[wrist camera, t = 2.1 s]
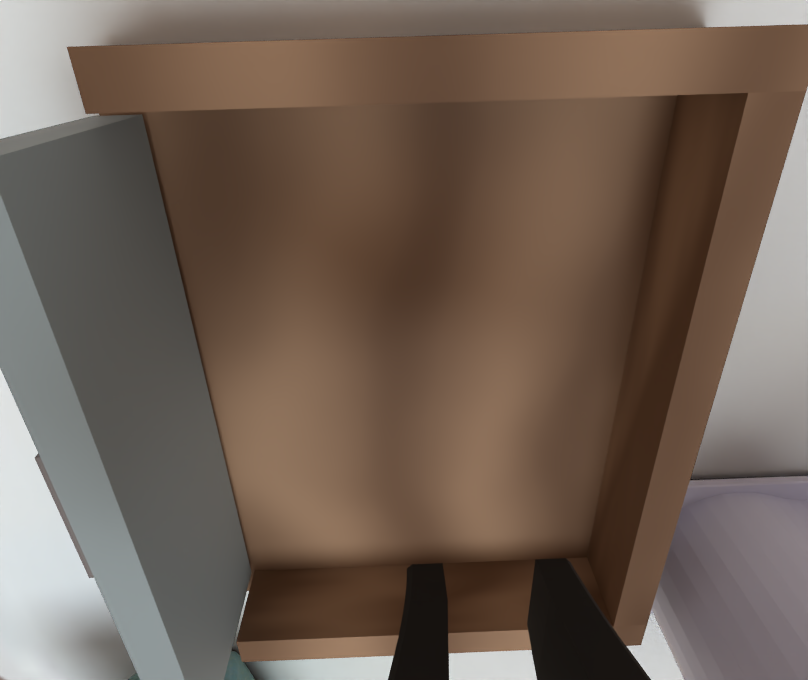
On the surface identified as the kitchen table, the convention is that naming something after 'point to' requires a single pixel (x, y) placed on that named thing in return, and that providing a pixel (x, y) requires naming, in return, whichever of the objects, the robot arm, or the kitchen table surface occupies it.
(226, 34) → the kitchen table surface
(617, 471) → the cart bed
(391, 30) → the kitchen table surface
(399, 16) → the kitchen table surface
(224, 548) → the panel
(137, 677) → the flower pot
